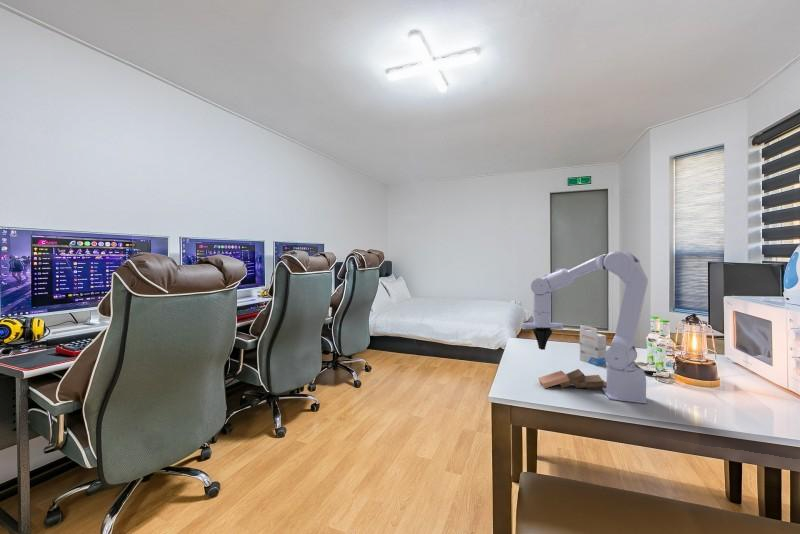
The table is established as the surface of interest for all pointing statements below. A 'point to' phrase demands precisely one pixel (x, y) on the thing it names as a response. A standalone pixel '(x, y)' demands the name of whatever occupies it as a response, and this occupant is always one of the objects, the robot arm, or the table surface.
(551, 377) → the terracotta domino
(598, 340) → the ink box
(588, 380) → the walnut domino
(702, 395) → the table surface
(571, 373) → the walnut domino
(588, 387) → the walnut domino
